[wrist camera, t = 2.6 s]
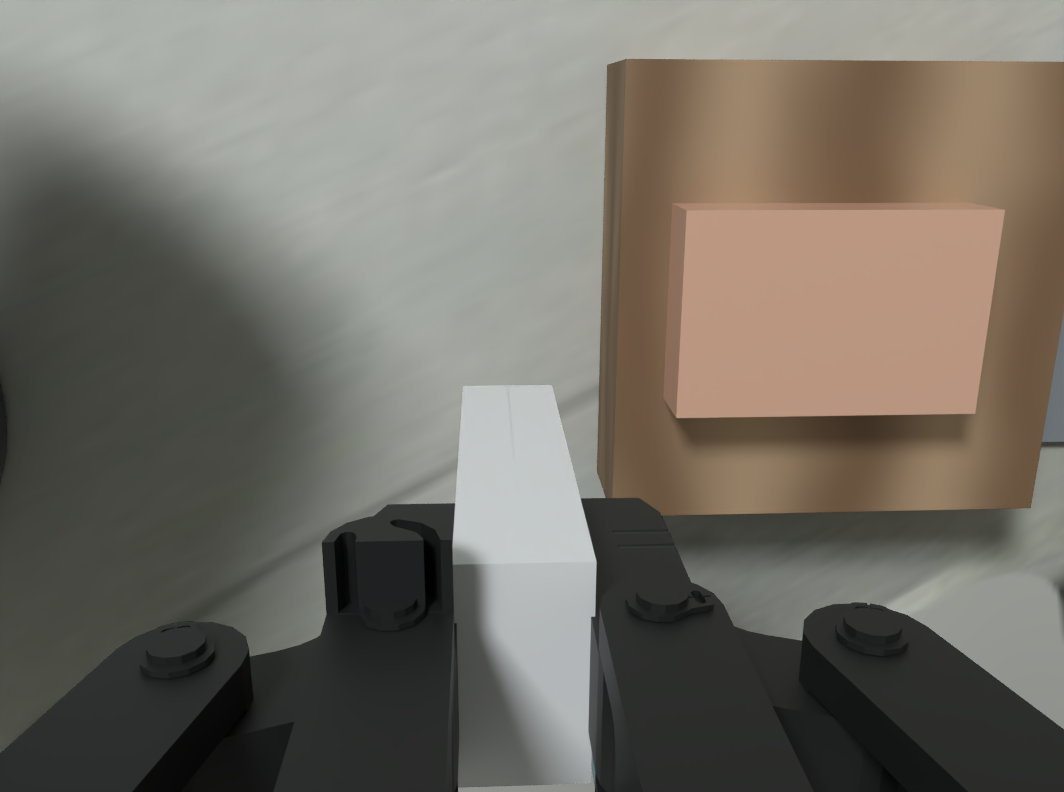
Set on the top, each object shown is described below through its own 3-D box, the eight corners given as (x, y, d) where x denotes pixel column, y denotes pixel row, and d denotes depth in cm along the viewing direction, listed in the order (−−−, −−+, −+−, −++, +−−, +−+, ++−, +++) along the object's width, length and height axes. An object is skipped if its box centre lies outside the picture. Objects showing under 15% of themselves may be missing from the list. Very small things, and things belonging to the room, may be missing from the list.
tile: (663, 398, 30) (676, 418, 28) (672, 203, 28) (686, 210, 26) (943, 394, 30) (975, 413, 28) (969, 202, 28) (1005, 209, 27)
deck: (596, 471, 35) (612, 516, 31) (607, 64, 31) (626, 59, 27) (970, 464, 35) (1030, 507, 32) (1029, 67, 31) (1106, 61, 28)
